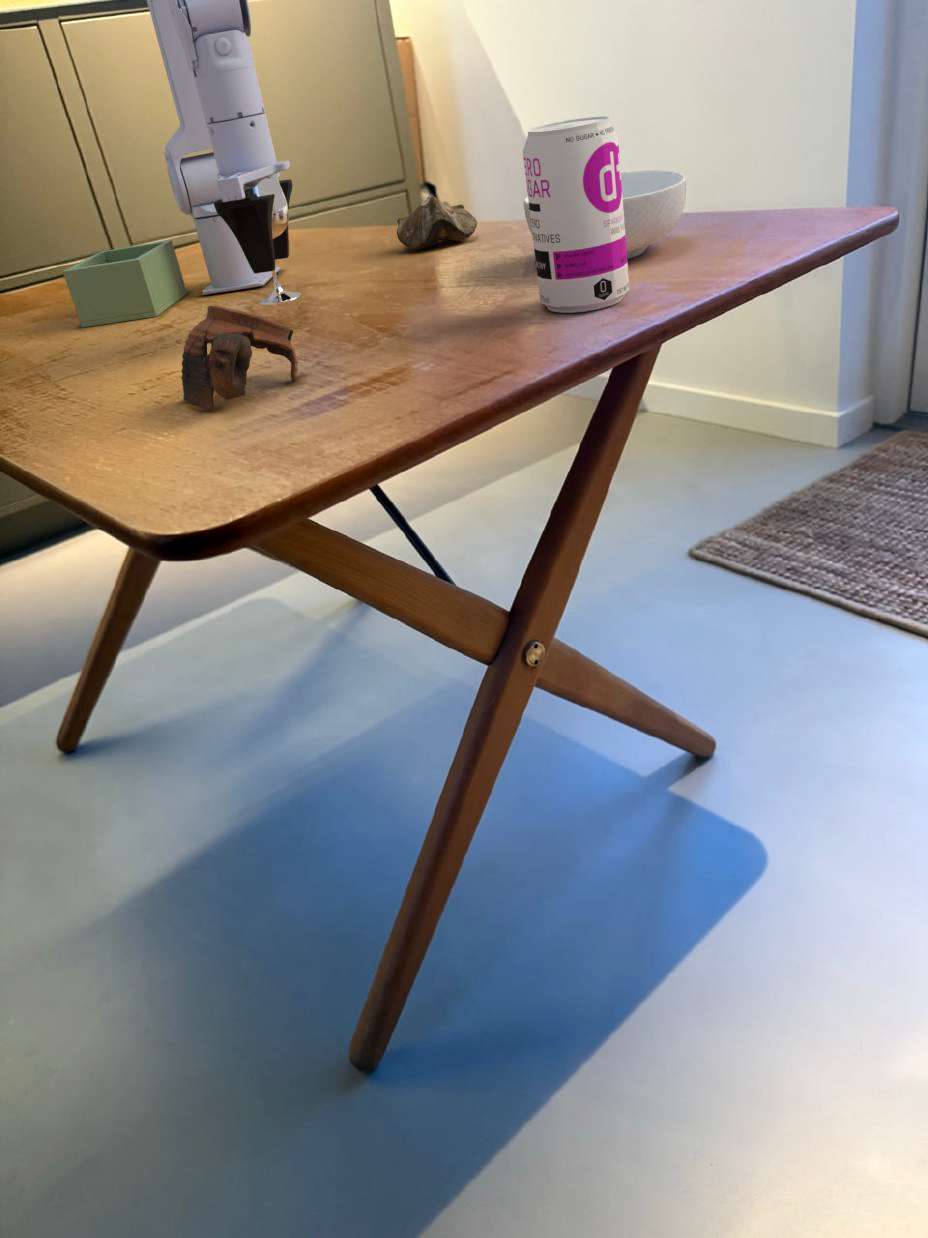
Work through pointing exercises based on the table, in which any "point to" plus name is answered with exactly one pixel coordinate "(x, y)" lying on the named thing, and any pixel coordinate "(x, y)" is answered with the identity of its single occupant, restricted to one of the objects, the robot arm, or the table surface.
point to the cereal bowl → (646, 206)
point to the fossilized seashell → (435, 224)
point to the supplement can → (577, 214)
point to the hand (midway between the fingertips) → (271, 265)
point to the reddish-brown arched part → (229, 353)
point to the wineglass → (275, 231)
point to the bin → (125, 283)
